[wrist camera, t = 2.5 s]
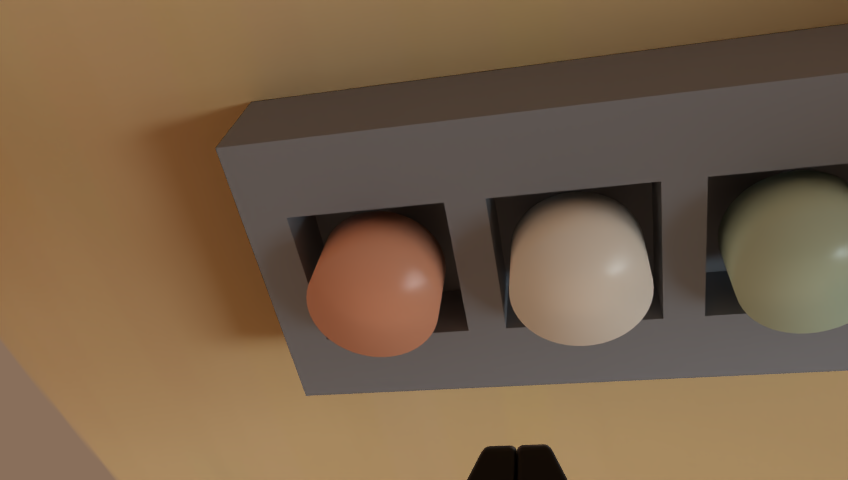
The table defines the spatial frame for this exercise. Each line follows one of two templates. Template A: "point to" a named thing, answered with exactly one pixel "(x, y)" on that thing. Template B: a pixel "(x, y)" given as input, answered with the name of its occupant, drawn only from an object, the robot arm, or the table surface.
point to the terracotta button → (378, 284)
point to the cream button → (579, 269)
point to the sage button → (790, 251)
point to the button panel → (538, 180)
